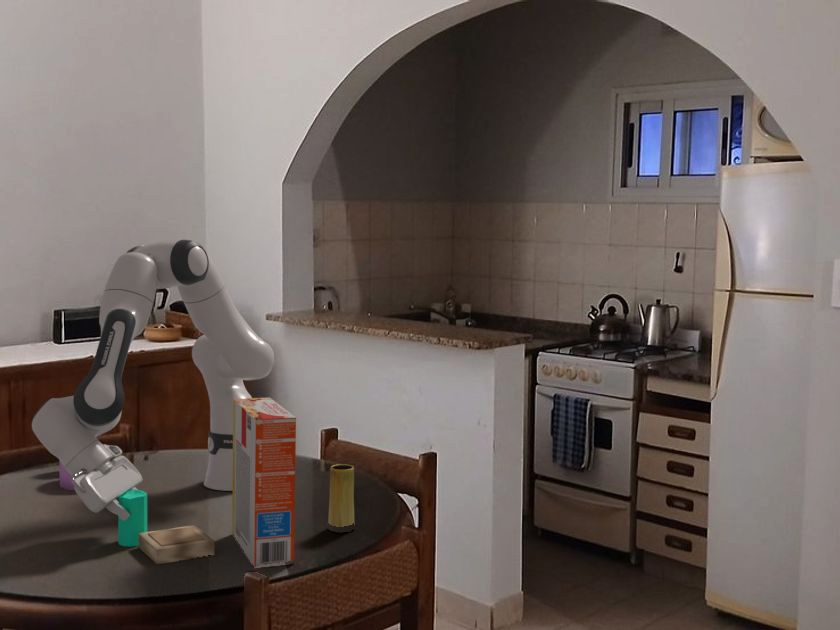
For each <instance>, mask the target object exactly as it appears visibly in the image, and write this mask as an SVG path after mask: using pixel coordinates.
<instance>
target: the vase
mask: <svg viewBox="0 0 840 630" xmlns="http://www.w3.org/2000/svg"><path fill="white" fill-rule="evenodd" d="M329 475H330V476H329V499H328V500H329V501H328V503H329V504H328V516H327V517H328V518H327V519H328V521H327V524H328V523H329V524H330V525H332V526H336V527H344V526H349V525H352V524H353V523H354V524H355V503H354V502H355V501H354V500H355V499H354V498H355V497H354V495H355V494H354V493H355V492H354V491H355V467H354V465H352V464H347V463H346V464H345V463H344V464H342V463H341V464H338V463H337V464H333V465H331V466H330V474H329Z"/></svg>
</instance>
